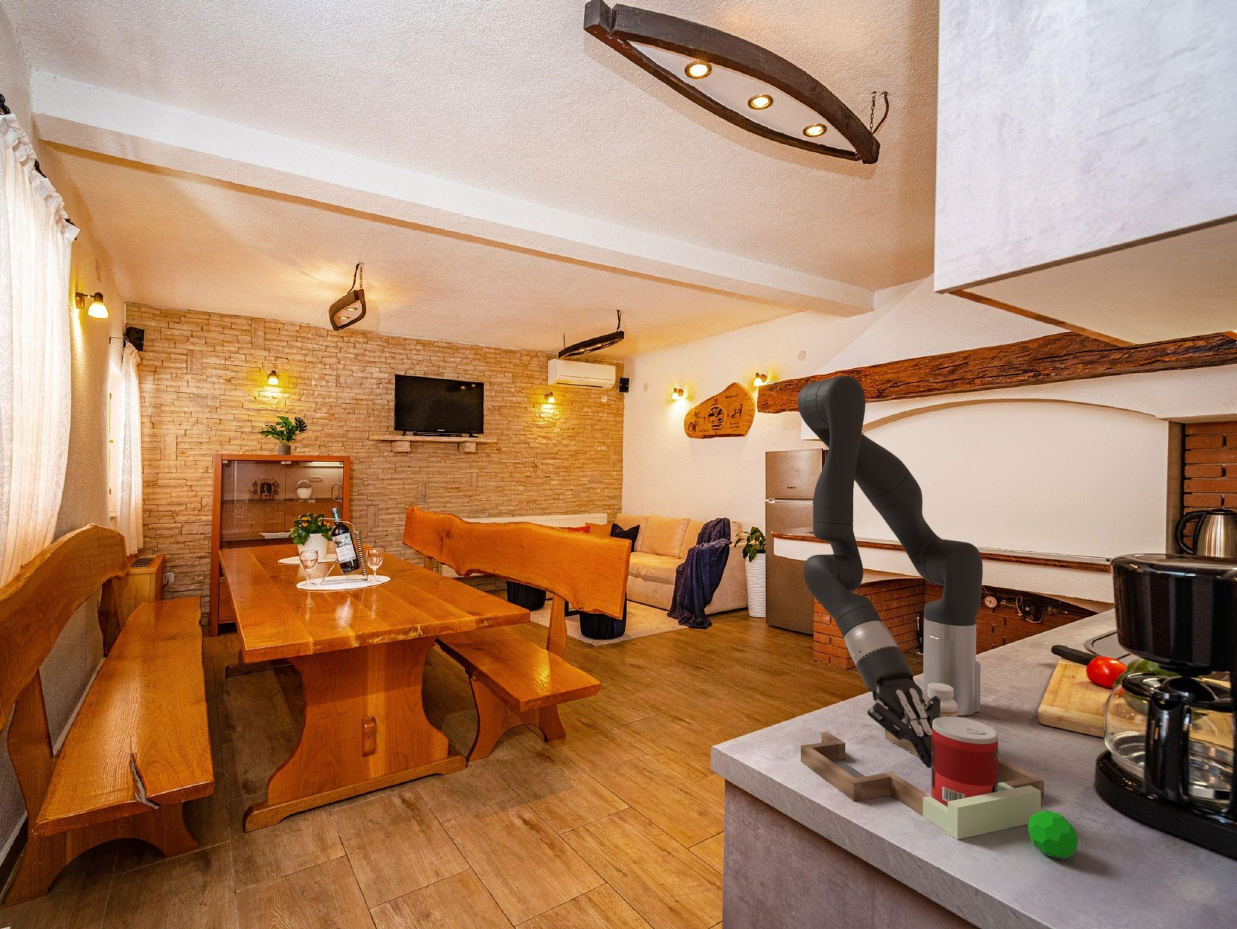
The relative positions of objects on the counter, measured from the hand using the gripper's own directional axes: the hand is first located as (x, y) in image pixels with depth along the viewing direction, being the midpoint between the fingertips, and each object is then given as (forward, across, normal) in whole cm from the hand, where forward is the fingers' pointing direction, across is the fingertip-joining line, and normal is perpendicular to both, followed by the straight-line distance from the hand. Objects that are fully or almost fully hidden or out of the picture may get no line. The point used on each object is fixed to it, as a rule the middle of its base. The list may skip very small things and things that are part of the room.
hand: (935, 765), depth 89 cm
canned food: (+6, 0, 0) cm, 6 cm away
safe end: (+8, 0, -3) cm, 8 cm away
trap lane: (-1, 0, +7) cm, 7 cm away
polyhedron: (+14, +2, -8) cm, 16 cm away
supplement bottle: (-6, +14, +12) cm, 19 cm away
